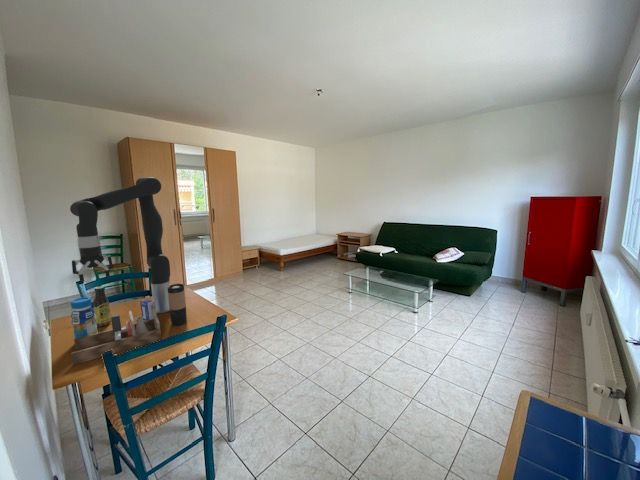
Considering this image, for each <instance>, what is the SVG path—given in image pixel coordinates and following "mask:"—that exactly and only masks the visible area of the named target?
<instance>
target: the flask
mask: <svg viewBox="0 0 640 480" xmlns="http://www.w3.org/2000/svg"><path fill="white" fill-rule="evenodd" d="M143 318H144V317H143V316H142V315H141V316H136V317H135V321H136V323H137V325H136V329H135V335H138V334H142V333H146V332H149V331H150V330H149V331H148V329H147V328H146V326H145V324H144V322H143Z"/></svg>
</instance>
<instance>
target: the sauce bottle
mask: <svg viewBox="0 0 640 480" xmlns="http://www.w3.org/2000/svg"><path fill="white" fill-rule="evenodd" d="M105 291H106V288H105V286H104V285H103V286H102V285H101V286H96V287H94V293H95V297H94V299H93V302H92V304H93V309H94V311H95V313H94V314H95V315H96V325H97V327H104V326H105V327H106V326H108V325H110V324H112V322H111V315H112V314H111V308H110V301H109V299H108V297H107V296H106V292H105Z"/></svg>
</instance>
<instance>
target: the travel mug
mask: <svg viewBox="0 0 640 480" xmlns="http://www.w3.org/2000/svg"><path fill="white" fill-rule="evenodd" d="M184 285H185V284H183V283H175V284H174V283H173V284H170V287H167V288H168V299H169V309H170V311H169V314H170V322H171V326H176V327H177V326H182V325H184V324H186V323H187V321H188V320H187V319H188V317H187V316H188V315H187V303H186V294H185V286H184Z"/></svg>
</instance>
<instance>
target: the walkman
mask: <svg viewBox="0 0 640 480" xmlns="http://www.w3.org/2000/svg"><path fill="white" fill-rule="evenodd" d="M139 303H140V311H141V316H143V317H144V318H143V321H147V320H151V319H154V316H153V314H155V313H156V307H155V301H153V300H151V299H145V298H144V299H143V300H139ZM156 315H158V313H156Z"/></svg>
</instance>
